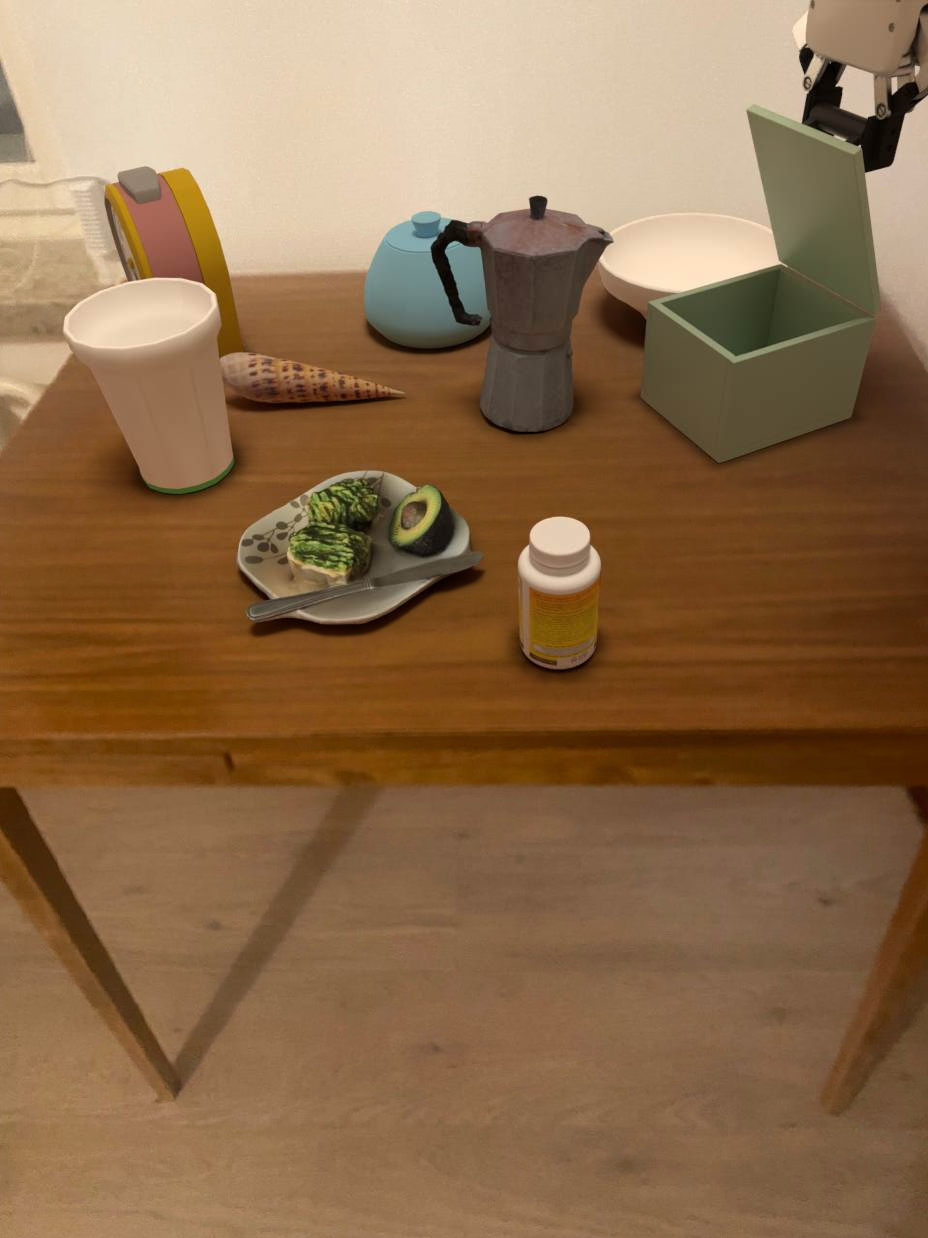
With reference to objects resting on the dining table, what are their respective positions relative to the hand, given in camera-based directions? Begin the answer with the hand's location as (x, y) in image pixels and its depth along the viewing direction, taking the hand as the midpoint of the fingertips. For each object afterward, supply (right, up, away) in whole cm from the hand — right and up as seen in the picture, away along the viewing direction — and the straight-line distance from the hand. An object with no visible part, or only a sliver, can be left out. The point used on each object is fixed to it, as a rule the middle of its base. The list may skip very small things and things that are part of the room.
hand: (844, 153), depth 77 cm
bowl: (-7, -5, +27) cm, 28 cm away
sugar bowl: (-34, -5, +29) cm, 45 cm away
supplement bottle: (-24, -39, -7) cm, 46 cm away
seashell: (-45, -16, +19) cm, 51 cm away
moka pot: (-25, -17, +15) cm, 34 cm away
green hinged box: (-4, -17, +13) cm, 22 cm away
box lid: (-2, -4, +2) cm, 5 cm away
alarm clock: (-60, -7, +29) cm, 67 cm away
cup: (-56, -23, +12) cm, 62 cm away
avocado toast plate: (-39, -32, +1) cm, 50 cm away
